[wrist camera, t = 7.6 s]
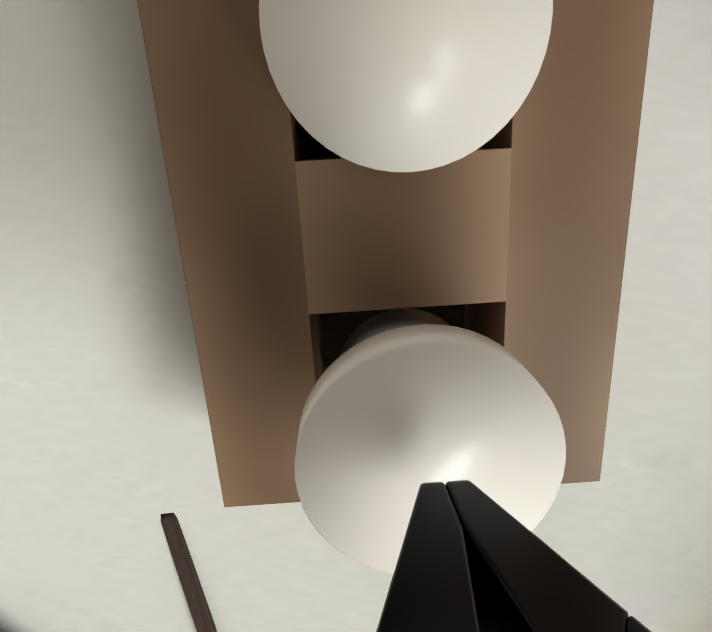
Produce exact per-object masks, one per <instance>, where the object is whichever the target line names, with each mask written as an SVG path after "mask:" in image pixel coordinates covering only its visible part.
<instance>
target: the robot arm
mask: <svg viewBox="0 0 712 632" xmlns="http://www.w3.org/2000/svg"><path fill="white" fill-rule="evenodd" d="M376 632H651V631H650V630H649V629H648V628H646V627H645V626H644V625H643V624H642V623H640V622H639V621H638V620H637V619H636V618H634V617H633V616H629V617H628V612H627V611H626V610H624V609H623V608H622V607H621V606H620V605H618V604H617V603H616V602H615V601H614V600H612V599H611V598H610V597H609V596H608V595H606V594H605V593H604V592H603V591H602V590H600V589H599V588H598V587H597V586H596V585H594V584H593V583H592V582H591V581H590V580H588V579H587V578H586V577H585V576H584V575H582V574H581V573H580V572H579V571H578V570H576V569H575V568H574V567H573V566H572V565H570V564H569V563H568V562H567V561H566V560H564V559H563V558H562V557H561V556H560V555H558V554H557V553H556V552H555V551H554V550H552V549H551V548H550V547H549V546H548V545H546V544H545V543H544V542H543V541H542V540H540V539H539V538H538V537H537V536H536V535H535V534H533V533H532V532H531V531H530V530H529V529H527V528H526V527H525V526H524V525H523V524H521V523H520V522H519V521H518V520H517V519H515V518H514V517H513V516H512V515H511V514H509V513H508V512H507V511H506V510H505V509H503V508H502V507H501V506H500V505H499V504H497V503H496V502H495V501H494V500H493V499H491V498H490V497H489V496H488V495H487V494H485V493H484V492H483V491H482V490H481V489H479V488H478V487H477V486H476V485H475V484H473V483H472V482H471V481H469V480H458V481H448V482H446V484H444V483H443V482H428V483H422V484H421V485H420V487H419V490H418V493H417V497H416V500H415V503H414V507H413V510H412V514H411V517H410V520H409V524H408V527H407V530H406V534H405V537H404V540H403V544H402V547H401V550H400V554H399V557H398V561H397V564H396V567H395V571H394V574H393V577H392V581H391V584H390V587H389V591H388V594H387V597H386V601H385V604H384V607H383V611H382V614H381V618H380V621H379V624H378V628H377V631H376Z"/></svg>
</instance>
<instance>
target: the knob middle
mask: <svg viewBox="0 0 712 632" xmlns="http://www.w3.org/2000/svg"><path fill="white" fill-rule="evenodd" d="M552 15H553V0H259V20H260V32H261V38H262V44H263V50H264V54H265V57H266V61H267V64H268V68H269V71H270V73H271V76H272V78H273V80H274V83H275V85H276V88H277V90H278V92H279V93H280V95H281V97H282V99H283V100H284V102H285V104H286V106H287V107H288V109H289V110H290V111H291V113H292V114H293V115H294V117H295V118H296V119H297V121H298V122H299V123H300V124H301V125H302V126H303V127H304V128H305V130H306V131H307V132H308V133H309V134H310V135H311V136H312V137H313V138H315V139H316V140H317V141H318V142H320V143H321V144H322V145H323V146H325V147H326V148H327V149H329V150H331V151H332V152H334V153H335V154H337V155H339V156H340V157H342V158H344V159H347V160H349V161H351V162H353V163H356V164H358V165H361V166H365V167H368V168H372V169H375V170H382V171H389V172H416V171H423V170H429V169H433V168H437V167H440V166H444V165H447V164H449V163H452V162H454V161H456V160H459V159H461V158H463V157H465V156H467V155H468V154H470V153H472V152H474V151H475V150H477V149H478V148H480V147H481V146H482V145H484V144H485V143H486V142H488V141H489V140H490V139H492V138H493V137H494V136H495V135H496V134H497V133H498V132H499V131H500V130H501V129H502V128H503V127H504V126H505V125H506V124H507V123H508V122H509V121H510V119H511V118H512V117H513V116H514V114H515V113H516V112H517V111H518V109H519V108H520V106H521V105H522V103H523V102H524V100H525V99H526V97H527V95H528V94H529V92H530V90H531V88H532V86H533V84H534V82H535V80H536V78H537V76H538V74H539V71H540V68H541V65H542V62H543V60H544V57H545V54H546V50H547V45H548V41H549V37H550V32H551V23H552Z"/></svg>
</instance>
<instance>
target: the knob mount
mask: <svg viewBox="0 0 712 632" xmlns="http://www.w3.org/2000/svg"><path fill="white" fill-rule="evenodd" d="M137 1H138V7H139V13H140V19H141V25H142V30H143V36H144V42H145V48H146V54H147V60H148V65H149V71H150V77H151V83H152V89H153V94H154V100H155V106H156V112H157V118H158V124H159V129H160V135H161V141H162V147H163V153H164V158H165V164H166V170H167V176H168V182H169V188H170V193H171V199H172V205H173V211H174V217H175V222H176V228H177V234H178V240H179V246H180V252H181V257H182V263H183V269H184V275H185V281H186V286H187V292H188V298H189V304H190V310H191V316H192V321H193V327H194V333H195V339H196V345H197V350H198V356H199V362H200V368H201V374H202V380H203V385H204V391H205V397H206V403H207V409H208V414H209V420H210V426H211V432H212V438H213V443H214V449H215V455H216V461H217V467H218V473H219V478H220V484H221V490H222V496H223V502H224V507H233V506H248V505H262V504H276V503H291V502H301V501H300V498H299V496H298V492H297V487H296V482H295V465H294V463H295V455H296V447H297V440H298V433H299V426H300V420H301V416H302V412H303V409H304V406H305V403H306V401H307V399H308V396H309V394H310V392H311V390H312V389H313V387H314V385H315V384H316V382H317V381H318V379H319V378H320V377H321V375H322V374H323V373H324V372H325V368H324V356H323V345H322V333H321V321H320V314H322V313H337V312H352V311H367V310H383V309H398V308H413V307H428V306H444V305H459V304H465V329H467V330H471V331H474V332H476V333H479V334H481V335H484V336H486V337H488V338H490V339H492V340H493V341H495V342H497V343H499V344H500V345H502V346H503V347H504V348H506V349H507V350H508V351H509V352H511V353H512V354H513V355H514V356H515V357H516V358H517V359H518V360H519V361H520V362H521V363H522V364H523V365H524V366H525V367H526V369H527V370H528V371H529V372H530V373H531V375H532V376H533V377H534V378H535V379H536V380H537V382H538V383H539V384H540V385H541V386H542V388H543V389H544V390H545V392H546V393H547V395H548V396H549V397H550V399H551V400H552V402H553V404H554V406H555V408H556V410H557V412H558V414H559V417H560V420H561V423H562V426H563V429H564V435H565V442H566V462H565V468H564V474H563V478H562V481H561V484H563V483H578V482H592V481H600V473H601V464H602V456H603V447H604V438H605V429H606V420H607V411H608V402H609V393H610V384H611V376H612V367H613V358H614V349H615V340H616V331H617V322H618V313H619V305H620V296H621V287H622V278H623V269H624V260H625V251H626V242H627V234H628V225H629V216H630V207H631V198H632V189H633V180H634V171H635V162H636V154H637V145H638V136H639V127H640V118H641V109H642V100H643V91H644V83H645V74H646V65H647V56H648V47H649V38H650V29H651V20H652V12H653V3H654V0H553V15H552V23H551V32H550V37H549V41H548V45H547V50H546V54H545V57H544V60H543V62H542V65H541V68H540V71H539V74H538V76H537V78H536V80H535V82H534V84H533V86H532V88H531V90H530V92H529V94H528V95H527V97H526V99H525V100H524V102H523V103H522V105H521V106H520V108H519V109H518V111H517V112H516V113H515V114H514V116H513V117H512V118H511V119H510V121H509V122H508V123H507V124H506V125H505V126H504V127H503V128H502V129H501V130H500V131H499V132H498V133H497V134H496V135H495V136H494V137H493V138H492V139H490V140H489V141H488V142H486V143H485V144H484V145H482V146H481V147H480V148H478V149H477V150H475V151H474V152H472V153H470V154H468V155H467V156H465V157H463V158H461V159H459V160H456V161H454V162H452V163H449V164H447V165H444V166H440V167H437V168H433V169H429V170H423V171H416V172H389V171H382V170H375V169H372V168H368V167H365V166H361V165H358V164H356V163H353V162H351V161H349V160H347V159H344V158H342V157H340V156H339V155H337V156H321V157H306V147H305V136H304V127H303V126H302V125H301V124H300V123H299V122H298V121H297V119H296V118H295V117H294V115H293V114H292V113H291V111H290V110H289V109H288V107H287V106H286V104H285V102H284V100H283V99H282V97H281V95H280V93H279V92H278V90H277V88H276V85H275V83H274V80H273V78H272V76H271V73H270V71H269V68H268V64H267V61H266V57H265V54H264V50H263V44H262V38H261V32H260V20H259V0H137Z"/></svg>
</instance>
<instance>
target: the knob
mask: <svg viewBox="0 0 712 632" xmlns="http://www.w3.org/2000/svg"><path fill="white" fill-rule="evenodd" d="M565 462H566V442H565V435H564V429H563V426H562V423H561V420H560V417H559V414H558V412H557V410H556V408H555V406H554V404H553V402H552V400H551V399H550V397H549V396H548V395H547V393H546V392H545V390H544V389H543V388H542V386H541V385H540V384H539V383H538V382H537V380H536V379H535V378H534V377H533V376H532V375H531V373H530V372H529V371H528V370H527V369H526V367H525V366H524V365H523V364H522V363H521V362H520V361H519V360H518V359H517V358H516V357H515V356H514V355H513V354H512V353H511V352H509V351H508V350H507V349H506V348H504V347H503V346H502V345H500V344H499V343H497V342H495V341H493V340H492V339H490V338H488V337H486V336H484V335H481V334H479V333H476V332H474V331H471V330H467V329H463V328H459V327H455V326H450V325H449V324H448V323H447V322H445V321H444V320H443V319H441V318H439V317H438V316H436V315H434V314H431V313H429V312H426V311H422V310H417V309H394V310H389V311H385V312H382V313H380V314H377V315H375V316H373V317H371V318H369V319H367V320H366V321H365V322H363V323H362V324H360V325H359V326H358V327H357V328H356V329H355V330H354V331H353V332H352V334H351V335H350V336H349V337H348V339H347V340H346V342H345V344H344V346H343V348H342V350H341V353H340V357H339V358H337V359H336V360H335V361H334V362H333V363H332V364H331V365H330V366H329V367H328V368H327V369H326V371H325V372H324V373H323V374H322V375H321V377H320V378H319V379H318V381H317V382H316V384H315V385H314V387H313V389H312V390H311V392H310V394H309V396H308V399H307V401H306V403H305V406H304V409H303V412H302V416H301V420H300V426H299V433H298V440H297V447H296V455H295V463H294V465H295V482H296V487H297V492H298V496H299V498H300V501H301V504H302V507H303V509H304V511H305V513H306V515H307V516H308V518H309V520H310V522H311V523H312V524H313V526H314V527H315V528H316V530H317V531H318V532H319V534H320V535H321V536H322V537H323V538H324V539H325V540H326V541H327V542H328V543H329V544H330V545H332V546H333V547H334V548H336V549H337V550H338V551H339V552H341V553H342V554H344V555H346V556H347V557H349V558H351V559H352V560H354V561H356V562H358V563H361V564H363V565H365V566H367V567H370V568H373V569H376V570H380V571H383V572H387V573H392V574H394V571H395V567H396V564H397V561H398V557H399V554H400V550H401V547H402V544H403V540H404V537H405V534H406V530H407V527H408V524H409V520H410V517H411V514H412V510H413V507H414V503H415V500H416V497H417V493H418V490H419V487H420V485H421V484H422V483H428V482H443V483H444V484H446V482H448V481H458V480H469V481H471V482H472V483H473V484H475V485H476V486H477V487H478V488H479V489H481V490H482V491H483V492H484V493H485V494H487V495H488V496H489V497H490V498H491V499H493V500H494V501H495V502H496V503H497V504H499V505H500V506H501V507H502V508H503V509H505V510H506V511H507V512H508V513H509V514H511V515H512V516H513V517H514V518H515V519H517V520H518V521H519V522H520V523H521V524H523V525H524V526H525V527H526V528H527V529H529V530H530V531H532V530H533V529H534V528H535V527H536V526H537V525H538V523H539V522H540V521H541V520H542V519H543V517H544V516H545V514H546V513H547V511H548V510H549V508H550V507H551V505H552V503H553V501H554V499H555V497H556V495H557V493H558V491H559V488H560V485H561V481H562V478H563V474H564V468H565Z"/></svg>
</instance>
